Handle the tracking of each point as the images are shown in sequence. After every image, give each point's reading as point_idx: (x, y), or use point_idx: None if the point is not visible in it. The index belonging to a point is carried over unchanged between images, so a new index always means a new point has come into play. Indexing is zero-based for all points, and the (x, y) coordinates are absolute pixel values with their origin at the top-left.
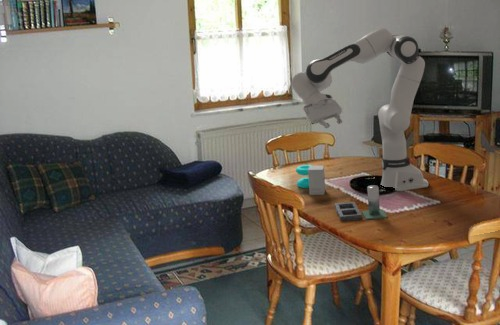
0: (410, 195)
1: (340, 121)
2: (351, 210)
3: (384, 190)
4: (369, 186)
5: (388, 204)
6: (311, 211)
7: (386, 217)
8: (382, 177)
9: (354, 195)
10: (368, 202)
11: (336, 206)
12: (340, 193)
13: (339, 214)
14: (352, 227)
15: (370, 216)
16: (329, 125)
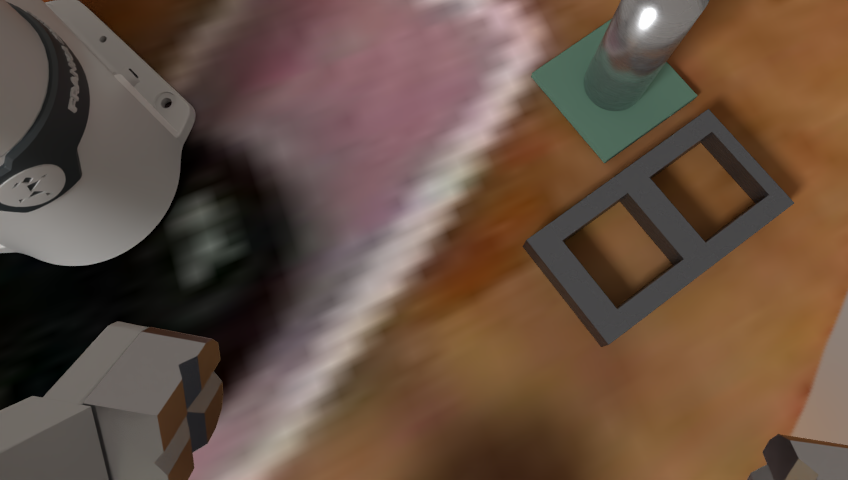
0: (246, 36)
1: (199, 343)
2: (661, 196)
3: (198, 199)
4: (670, 12)
5: (427, 85)
6: (728, 457)
7: None
8: (93, 222)
9: (345, 333)
10: (660, 68)
11: (653, 305)
12: (336, 444)
13: (765, 223)
14: (823, 115)
15: (659, 85)
16: (802, 438)
